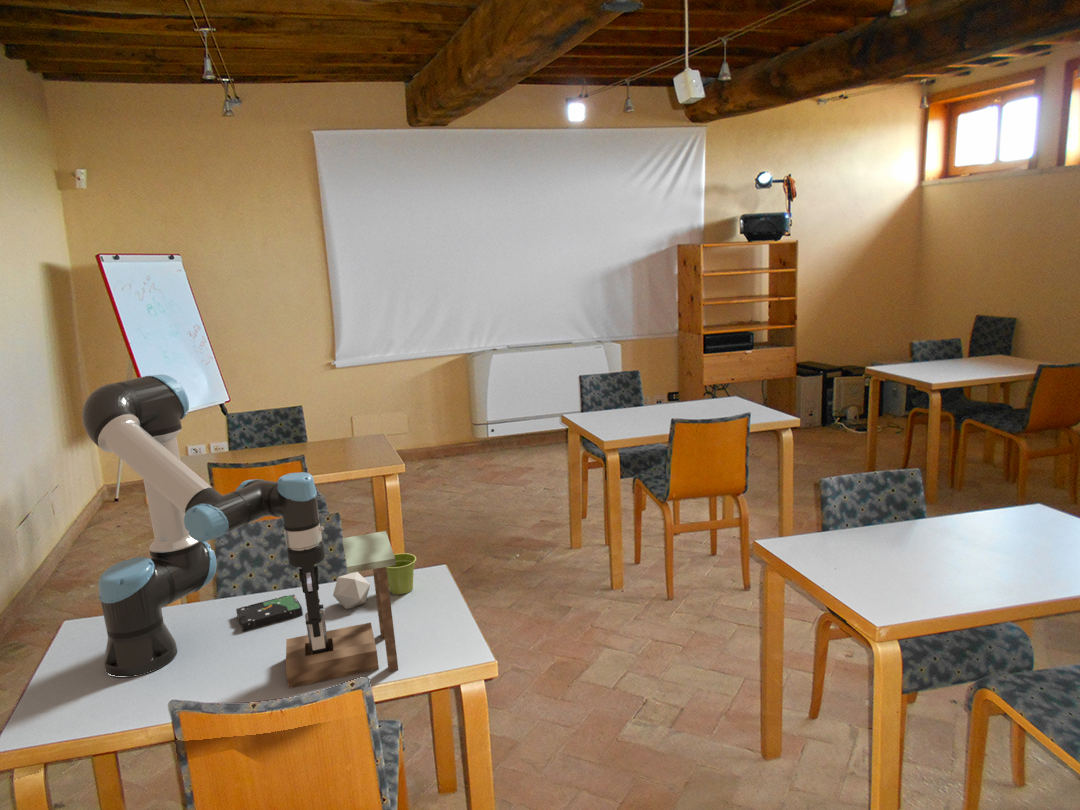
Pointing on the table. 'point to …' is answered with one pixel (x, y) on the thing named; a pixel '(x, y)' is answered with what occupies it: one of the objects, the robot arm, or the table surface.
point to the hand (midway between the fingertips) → (318, 643)
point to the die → (351, 590)
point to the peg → (323, 632)
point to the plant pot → (401, 574)
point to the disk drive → (269, 612)
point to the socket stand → (356, 643)
